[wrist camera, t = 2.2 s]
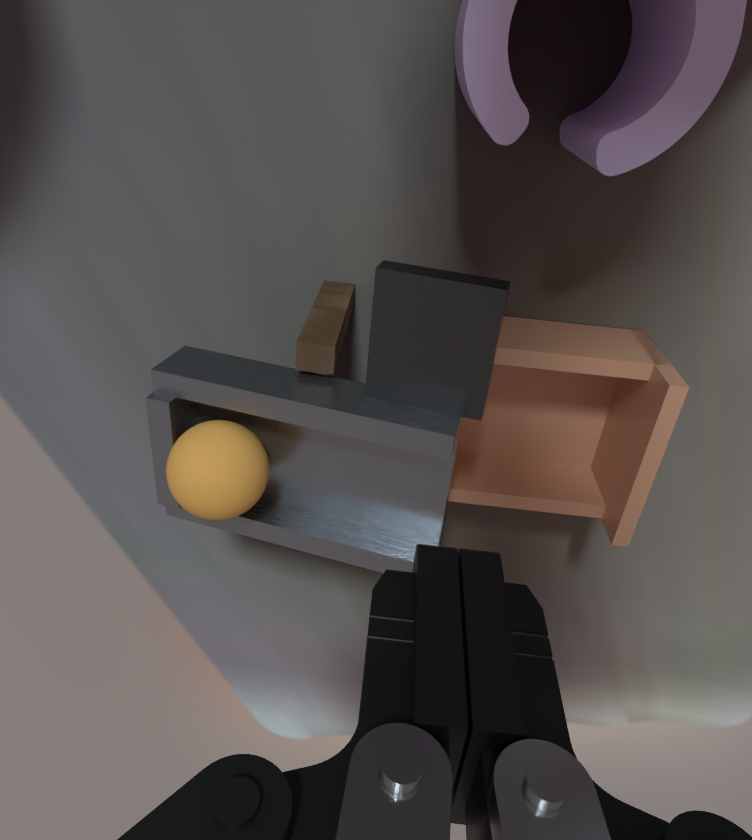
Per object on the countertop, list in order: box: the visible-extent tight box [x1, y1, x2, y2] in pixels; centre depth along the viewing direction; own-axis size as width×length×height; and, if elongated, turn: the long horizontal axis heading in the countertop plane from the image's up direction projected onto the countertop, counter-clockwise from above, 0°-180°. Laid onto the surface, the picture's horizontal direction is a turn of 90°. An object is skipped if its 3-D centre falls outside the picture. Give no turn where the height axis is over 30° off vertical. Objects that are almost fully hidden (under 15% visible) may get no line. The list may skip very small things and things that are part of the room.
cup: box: [448, 316, 689, 547], centre depth 30 cm, size 10×9×6 cm
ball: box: [166, 420, 269, 520], centre depth 25 cm, size 4×4×4 cm
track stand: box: [296, 281, 355, 374], centre depth 30 cm, size 2×10×8 cm, turn 175°
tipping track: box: [146, 260, 510, 573], centre depth 25 cm, size 13×12×3 cm
